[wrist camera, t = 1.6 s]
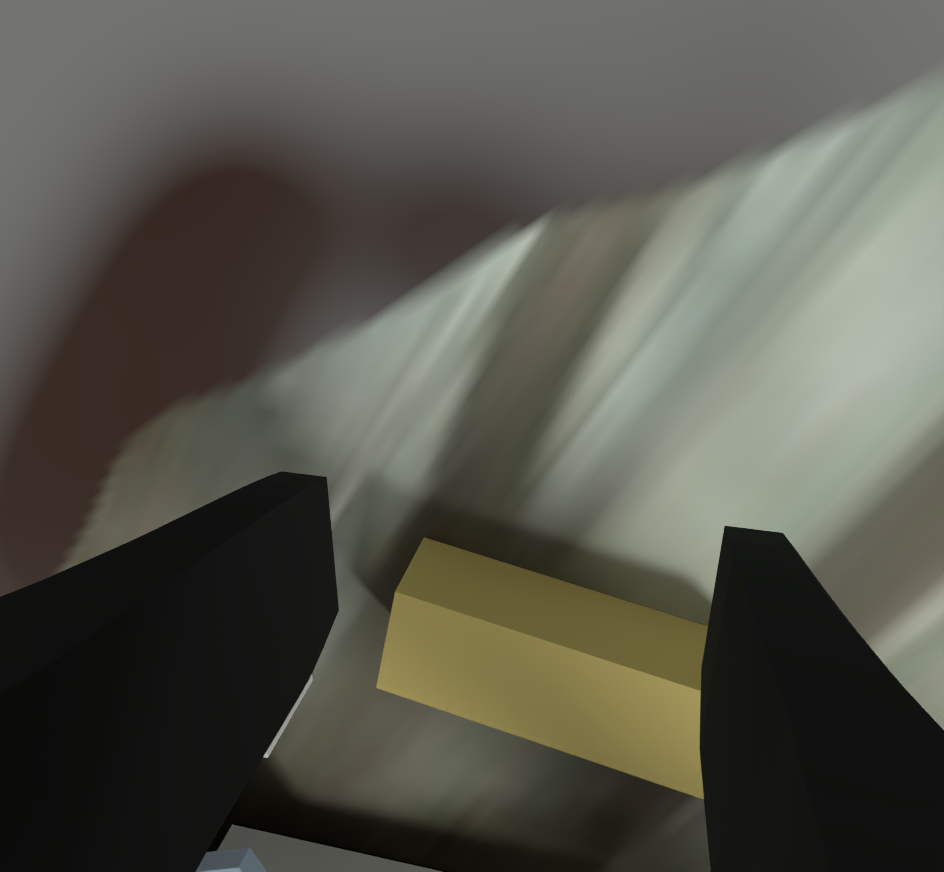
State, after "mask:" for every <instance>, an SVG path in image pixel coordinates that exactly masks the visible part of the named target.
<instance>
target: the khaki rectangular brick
mask: <svg viewBox="0 0 944 872" xmlns="http://www.w3.org/2000/svg"><path fill="white" fill-rule="evenodd" d="M707 630H708V626H705V625H702V624H699V623H696V622H692V621H689V620H686V619H683V618H680V617H676V616H673V615H670V614H667V613H664V612H661V611H657V610H654V609H651V608H648V607H645V606H641V605H638V604H635V603H632V602H629V601H625V600H622V599H619V598H616V597H613V596H610V595H606V594H603V593H600V592H597V591H594V590H590V589H587V588H584V587H581V586H578V585H574V584H571V583H568V582H565V581H562V580H559V579H555V578H552V577H549V576H546V575H543V574H539V573H536V572H533V571H530V570H527V569H523V568H520V567H517V566H514V565H511V564H508V563H504V562H501V561H498V560H495V559H492V558H488V557H485V556H482V555H479V554H476V553H472V552H469V551H466V550H463V549H460V548H457V547H453V546H450V545H447V544H444V543H441V542H437V541H434V540H431V539H428V538H425V537H424V538H423V540H422V542H421V544H420V546H419V547H418V549H417V551H416V553H415V555H414V557H413V559H412V561H411V563H410V564H409V566H408V568H407V570H406V572H405V574H404V576H403V578H402V580H401V581H400V583H399V585H398V587H397V589H396V591H395V595H394V600H393V605H392V610H391V615H390V620H389V625H388V630H387V635H386V640H385V645H384V651H383V656H382V661H381V666H380V671H379V676H378V681H377V686H376V688H378V689H381V690H384V691H387V692H390V693H393V694H396V695H399V696H402V697H405V698H408V699H410V700H413V701H416V702H419V703H422V704H425V705H428V706H431V707H434V708H437V709H440V710H443V711H446V712H449V713H452V714H454V715H457V716H460V717H463V718H466V719H469V720H472V721H475V722H478V723H481V724H484V725H487V726H490V727H493V728H496V729H498V730H501V731H504V732H507V733H510V734H513V735H516V736H519V737H522V738H525V739H528V740H531V741H534V742H537V743H539V744H542V745H545V746H548V747H551V748H554V749H557V750H560V751H563V752H566V753H569V754H572V755H575V756H578V757H581V758H583V759H586V760H589V761H592V762H595V763H598V764H601V765H604V766H607V767H610V768H613V769H616V770H619V771H622V772H625V773H627V774H630V775H633V776H636V777H639V778H642V779H645V780H648V781H651V782H654V783H657V784H660V785H663V786H666V787H669V788H671V789H674V790H677V791H680V792H683V793H686V794H689V795H692V796H695V797H698V798H701V799H704V793H703V782H702V772H701V760H700V698H701V666H702V660H703V654H704V648H705V642H706V636H707Z"/></svg>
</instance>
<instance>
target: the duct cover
mask: <svg viewBox="0 0 944 872" xmlns="http://www.w3.org/2000/svg"><path fill="white" fill-rule="evenodd" d="M196 872H267V871H266V869H265V868H264V866H263V865H262V864H261V862H260V861H259V859H258V858H257V857H256V855H255V854H254V853H253V851H252V850H251V848H250V847H246V848H238V849H230V850H221V851H213V852H206V854H205V856H204V858H203V859H202V861H201V863H200V865H199V867H198V869H197V870H196Z"/></svg>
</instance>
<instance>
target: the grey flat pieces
mask: <svg viewBox="0 0 944 872" xmlns="http://www.w3.org/2000/svg"><path fill="white" fill-rule="evenodd" d="M312 681H313V678H312V674H311V677H310V679H309V681H308V682H307V684H306V686H305V688H304V689H303V691H302V693H301V695H300V696H299V698H298V700H297V701H296V703H295V705H294V706H293V708H292V710H291V711H290V713H289V715H288V717H287V718H286V720H285V722H284V723H283V725H282V727H281V728H280V730H279V732H278V733H277V735H276V737H275V738H274V740H273V742H272V743H271V745H270V747H269V748H268V750H267V752H266V753H265V755H264V757H265V758H268V757H269V755H270V753H271V751H272V750H273V748H274V746H275V745H276V743H277V741H278V739H279V738H280V736H281V734H282V732H283V731H284V729H285V727H286V726H287V724H288V722H289V720H290V719H291V717H292V715H293V714H294V712H295V710H296V708H297V707H298V705H299V703H300V701H301V700H302V698H303V696H304V695H305V693H306V691H307V689H308V688H309V686H310V684H311V682H312ZM246 847H250V848H251V850H252V851H253V853H254V854H255V855H256V857H257V858H258V859H259V861H260V862H261V864H262V865H263V866H264V868H265V869H266V871H267V872H442V871H438V870H433V869H429V868H424V867H420V866H415V865H411V864H407V863H402V862H398V861H393V860H389V859H384V858H380V857H375V856H371V855H366V854H362V853H357V852H353V851H349V850H344V849H340V848H335V847H331V846H326V845H322V844H317V843H313V842H308V841H304V840H299V839H295V838H291V837H286V836H282V835H277V834H273V833H268V832H264V831H259V830H255V829H250V828H246V827H241V826H237V825H233V824H232V826H231V827H230V829H229V831H228V833H227V834H226V836H225V838H224V840H223V841H222V843H221V845H220V846H219V848H218V850H217V851H221V850H230V849H238V848H246Z"/></svg>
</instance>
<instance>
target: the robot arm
mask: <svg viewBox="0 0 944 872" xmlns="http://www.w3.org/2000/svg"><path fill="white" fill-rule="evenodd" d="M338 611H339V608H338V597H337V586H336V575H335V564H334V553H333V542H332V531H331V520H330V509H329V498H328V487H327V477H322V476H314V475H306V474H297V473H289V472H279V473H276V474H273V475H270V476H268V477H265V478H263V479H260V480H258V481H256V482H253V483H251V484H249V485H247V486H244V487H242V488H240V489H238V490H236V491H234V492H232V493H230V494H227V495H225V496H223V497H221V498H219V499H217V500H215V501H213V502H211V503H209V504H207V505H205V506H203V507H201V508H199V509H197V510H194V511H192V512H190V513H188V514H186V515H184V516H182V517H180V518H178V519H176V520H174V521H172V522H170V523H168V524H166V525H163V526H161V527H159V528H157V529H155V530H153V531H151V532H149V533H147V534H145V535H143V536H141V537H139V538H136V539H134V540H132V541H130V542H128V543H126V544H123V545H121V546H119V547H117V548H114V549H112V550H110V551H108V552H105V553H103V554H101V555H98V556H96V557H94V558H92V559H89V560H87V561H85V562H83V563H80V564H78V565H76V566H74V567H71V568H69V569H67V570H65V571H62V572H60V573H58V574H56V575H53V576H51V577H49V578H47V579H44V580H42V581H39V582H37V583H34V584H32V585H29V586H27V587H24V588H22V589H19V590H17V591H14V592H12V593H9V594H6V595H4V596H1V597H0V872H196V870H197V869H198V867H199V865H200V863H201V861H202V859H203V858H204V856H205V854H206V852H207V850H208V849H209V847H210V845H211V843H212V841H213V839H214V838H215V836H216V834H217V833H218V831H219V829H220V828H221V826H222V824H223V823H224V821H225V819H226V818H227V816H228V814H229V813H230V811H231V809H232V808H233V806H234V805H235V803H236V801H237V800H238V798H239V796H240V795H241V793H242V791H243V790H244V788H245V786H246V785H247V783H248V781H249V780H250V778H251V776H252V775H253V773H254V771H255V770H256V768H257V766H258V765H259V763H260V762H261V760H262V758H263V757H264V755H265V753H266V752H267V750H268V748H269V747H270V745H271V743H272V742H273V740H274V738H275V737H276V735H277V733H278V732H279V730H280V728H281V727H282V725H283V723H284V722H285V720H286V718H287V717H288V715H289V713H290V711H291V710H292V708H293V706H294V705H295V703H296V701H297V700H298V698H299V696H300V695H301V693H302V691H303V689H304V688H305V686H306V684H307V682H308V681H309V679H310V677H311V674H312V672H313V670H314V668H315V665H316V663H317V661H318V659H319V656H320V654H321V652H322V650H323V647H324V645H325V643H326V640H327V638H328V635H329V633H330V630H331V628H332V625H333V623H334V620H335V618H336V616H337V613H338ZM700 760H701V772H702V782H703V793H704V804H705V815H706V825H707V835H708V846H709V856H710V866H711V872H944V730H943V729H942V728H941V727H940V726H939V725H938V724H937V723H936V722H935V721H934V719H933V718H932V717H931V716H930V715H929V714H928V713H927V712H926V711H925V710H924V709H923V708H922V707H921V705H920V704H919V703H918V702H917V701H916V700H915V699H914V698H913V697H912V696H911V695H910V694H909V693H908V692H907V690H906V689H905V688H904V687H903V686H902V685H901V684H900V682H899V681H898V680H897V679H896V678H895V677H894V676H893V674H892V673H891V672H890V671H889V670H888V668H887V667H886V666H885V665H884V664H883V662H882V661H881V660H880V659H879V657H878V656H877V655H876V654H875V653H874V651H873V650H872V649H871V648H870V647H869V645H868V644H867V643H866V642H865V640H864V639H863V638H862V637H861V636H860V634H859V633H858V632H857V631H856V629H855V628H854V627H853V626H852V624H851V623H850V622H849V621H848V619H847V618H846V617H845V615H844V614H843V613H842V612H841V610H840V609H839V608H838V606H837V605H836V604H835V602H834V601H833V600H832V598H831V597H830V596H829V594H828V593H827V592H826V590H825V589H824V588H823V586H822V585H821V584H820V582H819V581H818V580H817V578H816V577H815V576H814V574H813V573H812V572H811V570H810V569H809V567H808V566H807V565H806V563H805V562H804V560H803V559H802V558H801V556H800V555H799V554H798V552H797V551H796V550H795V548H794V547H793V546H792V544H791V543H790V542H789V540H788V539H787V538H786V537H785V535H784V534H783V533H779V532H771V531H762V530H754V529H746V528H738V527H730V526H725V528H724V534H723V540H722V546H721V552H720V558H719V564H718V570H717V576H716V582H715V588H714V594H713V600H712V606H711V612H710V618H709V624H708V630H707V636H706V642H705V648H704V654H703V660H702V666H701V698H700Z"/></svg>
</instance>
